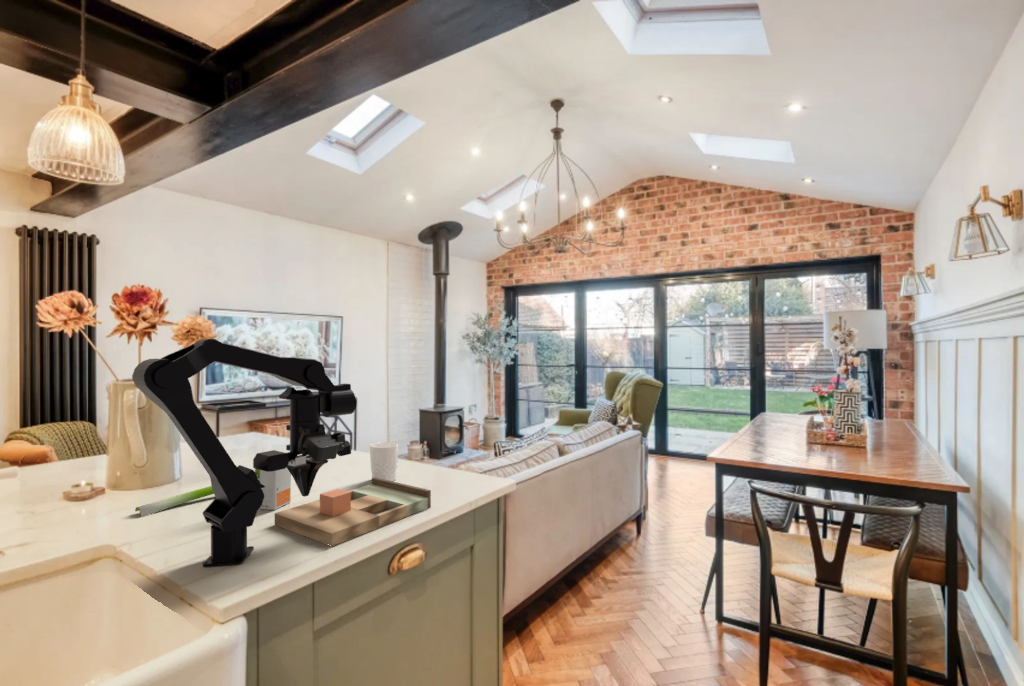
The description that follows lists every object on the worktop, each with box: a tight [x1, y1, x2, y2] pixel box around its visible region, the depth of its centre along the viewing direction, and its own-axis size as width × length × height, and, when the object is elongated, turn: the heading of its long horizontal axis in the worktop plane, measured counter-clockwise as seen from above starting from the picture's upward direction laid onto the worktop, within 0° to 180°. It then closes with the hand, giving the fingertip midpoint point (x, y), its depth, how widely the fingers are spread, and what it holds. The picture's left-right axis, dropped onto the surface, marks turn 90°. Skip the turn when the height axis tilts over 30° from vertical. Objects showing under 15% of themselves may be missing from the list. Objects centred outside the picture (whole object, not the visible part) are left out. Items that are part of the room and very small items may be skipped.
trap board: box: [274, 477, 432, 547], centre depth 111 cm, size 27×20×4 cm
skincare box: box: [259, 468, 292, 511], centre depth 118 cm, size 6×4×12 cm
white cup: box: [369, 441, 399, 482], centre depth 140 cm, size 8×8×10 cm
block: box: [319, 488, 351, 517], centre depth 106 cm, size 4×4×4 cm
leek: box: [134, 468, 260, 517], centre depth 123 cm, size 6×7×30 cm
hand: (305, 495), depth 100 cm, fingers closed
